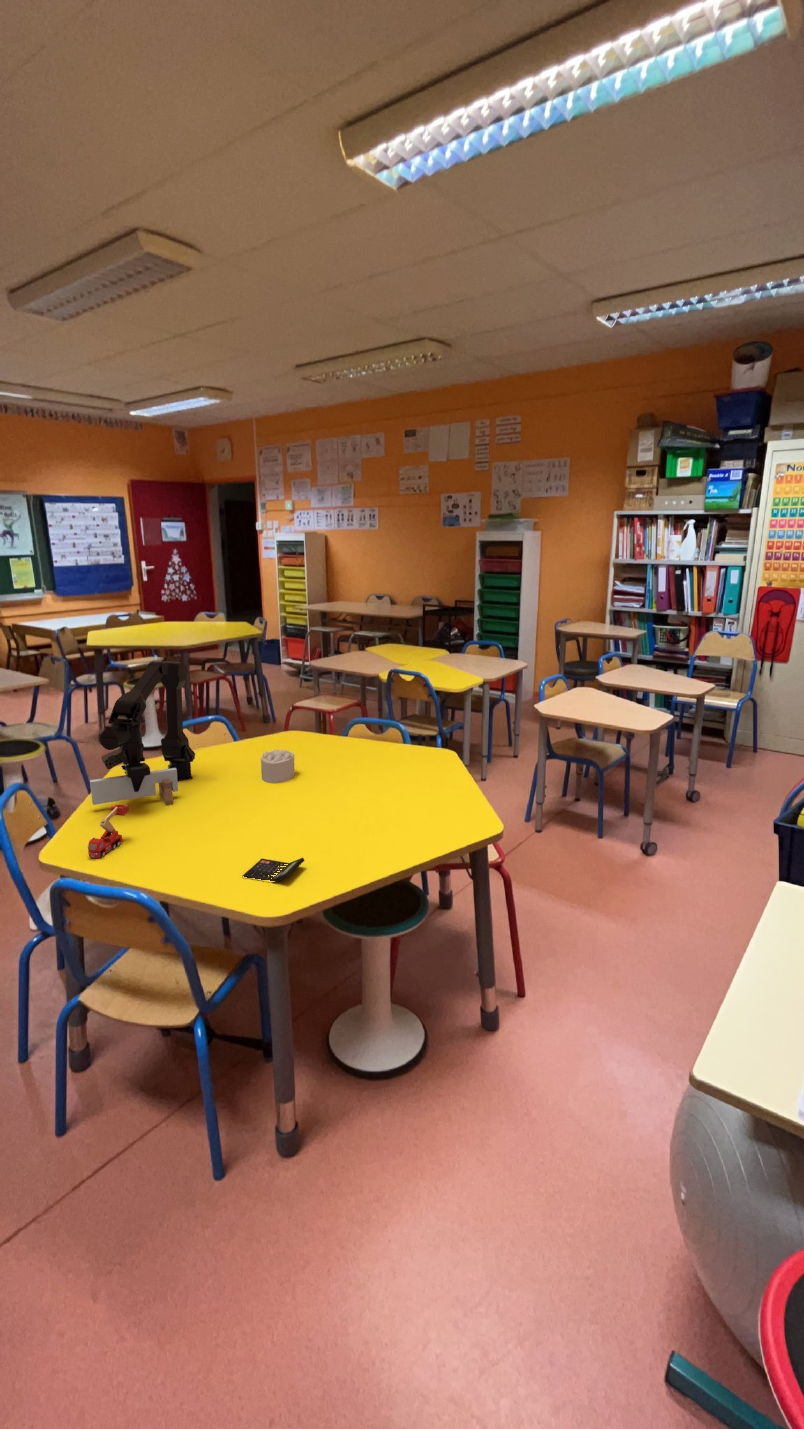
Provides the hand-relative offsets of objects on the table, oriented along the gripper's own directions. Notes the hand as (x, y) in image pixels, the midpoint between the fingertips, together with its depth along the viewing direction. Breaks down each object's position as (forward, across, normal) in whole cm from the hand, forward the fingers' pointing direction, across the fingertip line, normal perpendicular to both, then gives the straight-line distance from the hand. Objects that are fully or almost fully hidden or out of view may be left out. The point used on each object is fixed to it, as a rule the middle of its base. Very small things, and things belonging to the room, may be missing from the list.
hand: (135, 790), depth 195 cm
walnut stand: (+4, 0, +8) cm, 9 cm away
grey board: (+2, 0, 0) cm, 2 cm away
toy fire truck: (+5, +28, -11) cm, 31 cm away
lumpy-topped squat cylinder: (+5, -4, +46) cm, 46 cm away
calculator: (+5, +61, +21) cm, 65 cm away
